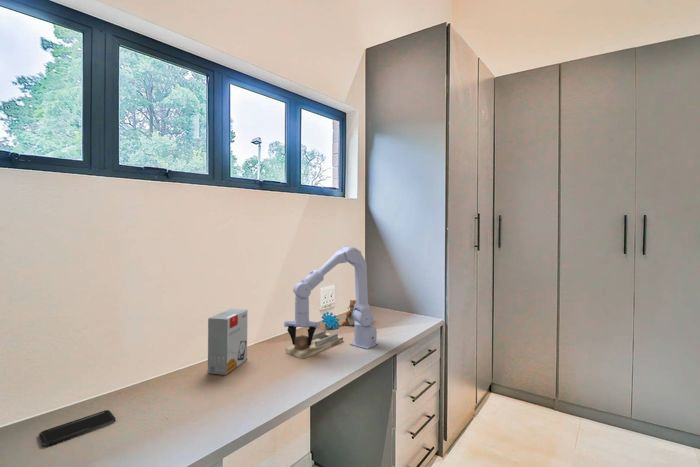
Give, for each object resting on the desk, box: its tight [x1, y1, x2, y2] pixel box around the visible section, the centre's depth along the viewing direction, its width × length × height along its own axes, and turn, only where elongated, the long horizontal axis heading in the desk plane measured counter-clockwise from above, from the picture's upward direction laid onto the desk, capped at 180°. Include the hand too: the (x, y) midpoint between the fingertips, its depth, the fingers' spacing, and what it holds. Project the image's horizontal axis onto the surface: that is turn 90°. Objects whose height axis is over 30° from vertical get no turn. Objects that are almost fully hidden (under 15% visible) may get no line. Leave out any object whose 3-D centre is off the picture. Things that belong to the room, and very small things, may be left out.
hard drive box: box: [207, 308, 248, 376], centre depth 131 cm, size 16×8×20 cm, turn 168°
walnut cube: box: [294, 334, 310, 350], centre depth 145 cm, size 4×4×4 cm
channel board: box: [285, 330, 344, 360], centre depth 151 cm, size 10×26×4 cm, turn 143°
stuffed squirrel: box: [341, 299, 356, 326], centre depth 186 cm, size 10×14×13 cm
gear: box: [321, 311, 341, 330], centre depth 180 cm, size 11×6×10 cm
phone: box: [38, 410, 116, 448], centre depth 91 cm, size 8×1×15 cm
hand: (302, 344), depth 145 cm, fingers closed on walnut cube, 6 cm apart
